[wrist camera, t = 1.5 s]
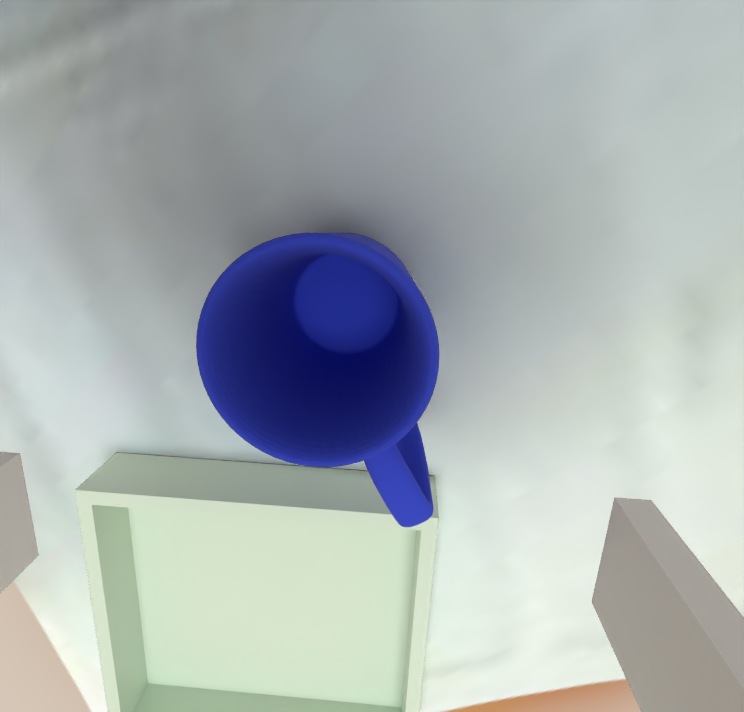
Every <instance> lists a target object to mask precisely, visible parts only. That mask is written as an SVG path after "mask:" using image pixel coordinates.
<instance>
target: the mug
mask: <svg viewBox="0 0 744 712" xmlns="http://www.w3.org/2000/svg"><path fill="white" fill-rule="evenodd" d="M196 348H197V360H198V366H199V371H200V375H201V378H202V381H203V384H204V387H205V389H206V391H207V394H208V396H209V398H210V400H211V401H212V403H213V405H214V407H215V408H216V410H217V411H218V412H219V414H220V415H221V417H222V418H223V419H224V420H225V421H226V423H227V424H228V425H229V426H230V427H231V428H232V429H233V430H234V431H235V432H236V433H237V434H238V435H239V436H241V437H242V438H243V439H244V440H246V441H247V442H248V443H250V444H251V445H252V446H254V447H256V448H257V449H259V450H261V451H263V452H264V453H266V454H269V455H271V456H273V457H275V458H278V459H281V460H284V461H286V462H290V463H294V464H298V465H304V466H312V467H336V466H343V465H349V464H353V463H357V462H360V461H363V460H364V462H365V465H366V467H367V470H368V472H369V474H370V477H371V479H372V481H373V483H374V485H375V487H376V488H377V490H378V492H379V494H380V495H381V497H382V499H383V501H384V502H385V504H386V506H387V508H388V509H389V511H390V512H391V514H392V515H393V517H394V518H395V520H396V521H397V522H398V524H399V525H401V526H402V527H413V526H416V525H419V524H421V523H423V522H425V521H427V520H428V519H429V518H430V517H431V516H432V515H433V510H434V507H433V500H432V493H431V487H430V480H429V473H428V467H427V462H426V457H425V452H424V447H423V442H422V438H421V434H420V431H419V427H418V424H417V421H418V420H419V418H420V417H421V416H422V414H423V412H424V411H425V409H426V407H427V405H428V403H429V401H430V399H431V396H432V394H433V391H434V387H435V384H436V380H437V375H438V368H439V343H438V336H437V331H436V327H435V323H434V320H433V317H432V314H431V312H430V309H429V307H428V305H427V303H426V301H425V299H424V297H423V296H422V294H421V292H420V291H419V289H418V287H417V286H416V284H415V283H414V281H413V279H412V278H411V276H410V274H409V273H408V271H407V269H406V268H405V266H404V265H403V264H402V262H401V261H400V260H399V258H398V257H397V256H396V255H395V254H394V253H392V252H391V251H390V250H389V249H388V248H386V247H385V246H384V245H382V244H380V243H379V242H377V241H375V240H373V239H370V238H368V237H365V236H361V235H357V234H351V233H300V234H292V235H287V236H283V237H279V238H275V239H272V240H270V241H267V242H265V243H262V244H260V245H258V246H256V247H254V248H252V249H251V250H249V251H248V252H246V253H245V254H243V255H242V256H240V257H239V258H238V259H237V260H235V261H234V262H233V263H232V264H231V265H230V266H229V267H228V268H227V269H226V270H225V271H224V272H223V273H222V274H221V276H220V277H219V278H218V280H217V281H216V282H215V284H214V285H213V287H212V289H211V290H210V292H209V294H208V296H207V298H206V301H205V303H204V306H203V308H202V311H201V315H200V319H199V323H198V329H197V342H196Z"/></svg>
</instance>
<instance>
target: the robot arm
mask: <svg viewBox="0 0 744 712" xmlns="http://www.w3.org/2000/svg"><path fill="white" fill-rule="evenodd" d="M37 556H38V549H37V544H36V538H35V533H34V527H33V522H32V516H31V511H30V505H29V500H28V495H27V489H26V484H25V478H24V473H23V467H22V462H21V456H20V453H8V452H0V593H1V592H2V591H3V590H4V589H5V588H6V587H7V586H8V585H9V584H10V583H11V582H12V581H13V580H14V579H15V578H16V577H17V576H18V575H19V574H20V573H21V572H22V571H23V570H24V569H25V568H26V567H27V566H28V565H29V564H30V563H31V562H32V561H33V560H34V559H35V558H36V557H37ZM592 603H593V606H594V608H595V610H596V612H597V615H598V617H599V619H600V621H601V623H602V626H603V628H604V630H605V632H606V635H607V637H608V639H609V641H610V643H611V646H612V648H613V650H614V652H615V655H616V657H617V659H618V661H619V663H620V666H621V668H622V670H623V672H624V675H625V677H626V679H627V681H628V683H629V686H630V688H631V690H632V692H633V695H634V697H635V699H636V701H637V703H638V706H639V708H640V710H641V712H744V617H743V616H742V615H741V614H740V612H739V611H738V610H737V608H736V607H735V606H734V605H733V603H732V602H731V601H730V600H729V598H728V597H727V596H726V594H725V593H724V592H723V591H722V589H721V588H720V587H719V586H718V584H717V583H716V582H715V581H714V579H713V578H712V577H711V575H710V574H709V573H708V572H707V570H706V569H705V568H704V567H703V565H702V564H701V563H700V561H699V560H698V559H697V558H696V556H695V555H694V554H693V553H692V551H691V550H690V549H689V548H688V546H687V545H686V544H685V542H684V541H683V540H682V539H681V537H680V536H679V535H678V534H677V532H676V531H675V530H674V529H673V527H672V526H671V525H670V523H669V522H668V521H667V520H666V518H665V517H664V516H663V515H662V513H661V512H660V511H659V509H658V508H657V507H656V506H655V504H654V503H653V502H652V501H651V500H641V499H627V498H614V502H613V507H612V511H611V516H610V520H609V525H608V530H607V534H606V539H605V543H604V548H603V552H602V557H601V562H600V566H599V571H598V575H597V580H596V584H595V589H594V594H593V598H592Z"/></svg>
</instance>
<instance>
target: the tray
mask: <svg viewBox="0 0 744 712" xmlns="http://www.w3.org/2000/svg"><path fill="white" fill-rule="evenodd" d="M429 480H430V487H431V493H432V500H433V507H434V510H433V515H432V516H431V517H430V518H429V519H428V520H427V521H425V522H423V523H421V524H419V525H416V526H413V527H402V526H401V525H399V524H398V522H397V521H396V520H395V518H394V517H393V515H392V514H391V512H390V511H389V509H388V508H387V506H386V504H385V502H384V501H383V499H382V497H381V495H380V494H379V492H378V490H377V488H376V487H375V485H374V483H373V481H372V479H371V477H370V474H369V472H368V471H360V470H346V469H333V468H319V467H305V466H292V465H278V464H265V463H251V462H237V461H224V460H210V459H197V458H183V457H169V456H156V455H142V454H129V453H115V454H114V455H113V456H112V457H111V458H110V459H109V460H108V461H106V462H105V463H104V464H103V465H102V466H101V467H100V468H99V469H98V470H96V471H95V472H94V473H93V474H92V475H91V476H90V477H89V478H88V479H86V480H85V481H84V482H83V483H82V484H81V485H80V486H79V487H78V488H76V489H75V496H76V502H77V509H78V516H79V522H80V529H81V536H82V543H83V549H84V556H85V563H86V569H87V576H88V583H89V589H90V596H91V603H92V610H93V616H94V623H95V630H96V636H97V643H98V650H99V656H100V663H101V670H102V677H103V683H104V690H105V697H106V703H107V710H108V712H419V711H420V701H421V691H422V681H423V671H424V661H425V651H426V641H427V630H428V620H429V610H430V600H431V590H432V580H433V570H434V560H435V550H436V540H437V530H438V520H439V517H438V506H437V496H436V486H435V476H429Z"/></svg>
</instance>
